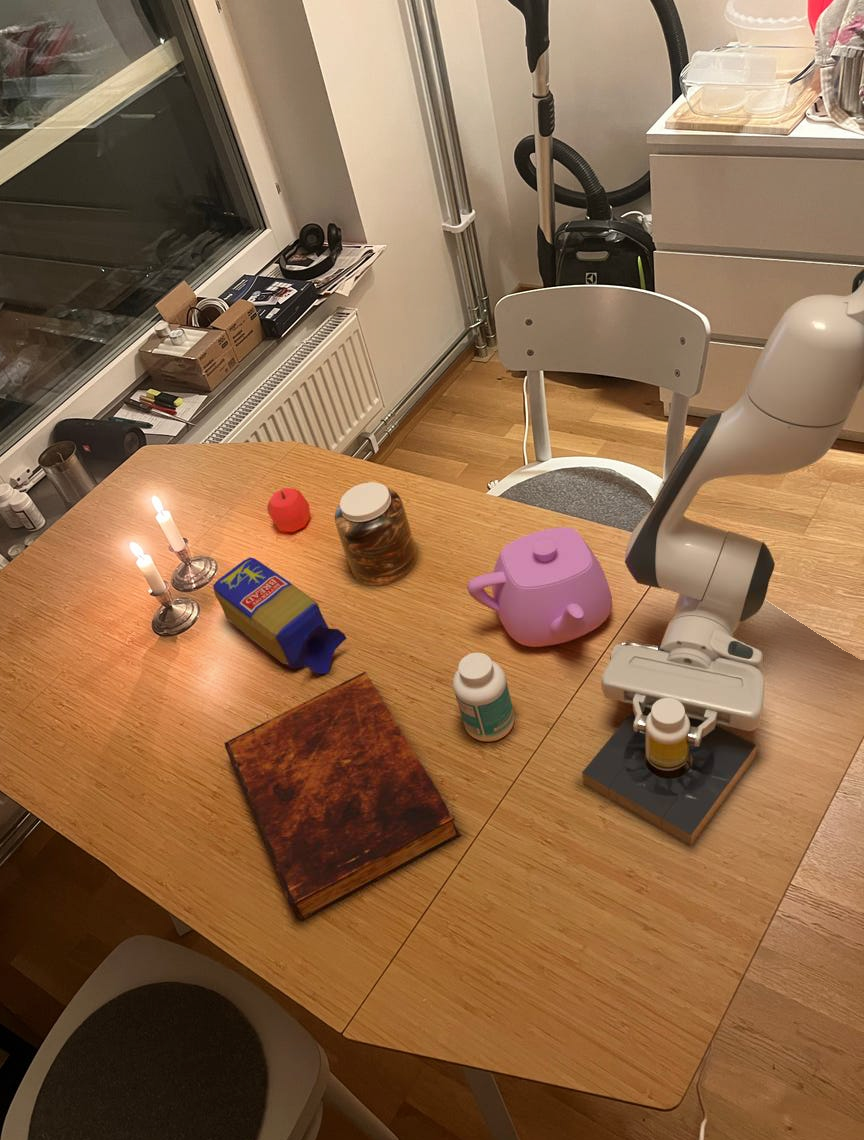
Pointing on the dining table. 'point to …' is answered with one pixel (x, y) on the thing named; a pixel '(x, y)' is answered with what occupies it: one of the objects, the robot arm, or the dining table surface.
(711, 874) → the dining table surface
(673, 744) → the supplement bottle
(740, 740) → the drain plate
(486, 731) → the pill bottle
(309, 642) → the bread
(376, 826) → the book
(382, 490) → the jar
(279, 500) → the apple
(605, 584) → the teapot
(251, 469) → the dining table surface
